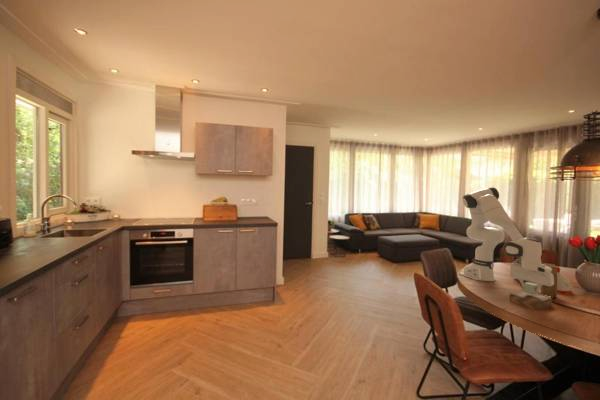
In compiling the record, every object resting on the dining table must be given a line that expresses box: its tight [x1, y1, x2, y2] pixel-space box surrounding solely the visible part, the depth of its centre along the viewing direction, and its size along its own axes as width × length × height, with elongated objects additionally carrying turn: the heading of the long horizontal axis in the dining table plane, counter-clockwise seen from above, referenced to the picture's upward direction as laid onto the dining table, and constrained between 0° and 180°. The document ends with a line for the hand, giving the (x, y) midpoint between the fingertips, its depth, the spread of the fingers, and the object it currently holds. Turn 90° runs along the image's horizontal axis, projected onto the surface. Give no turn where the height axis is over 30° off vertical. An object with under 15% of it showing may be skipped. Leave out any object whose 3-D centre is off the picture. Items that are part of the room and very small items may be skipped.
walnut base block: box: [509, 289, 553, 311], centre depth 159 cm, size 14×14×5 cm
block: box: [540, 262, 558, 298], centre depth 170 cm, size 11×8×20 cm
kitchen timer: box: [557, 266, 572, 294], centre depth 181 cm, size 14×14×15 cm
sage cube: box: [522, 281, 539, 295], centre depth 159 cm, size 5×5×5 cm
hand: (530, 288), depth 159 cm, fingers closed on sage cube, 5 cm apart
